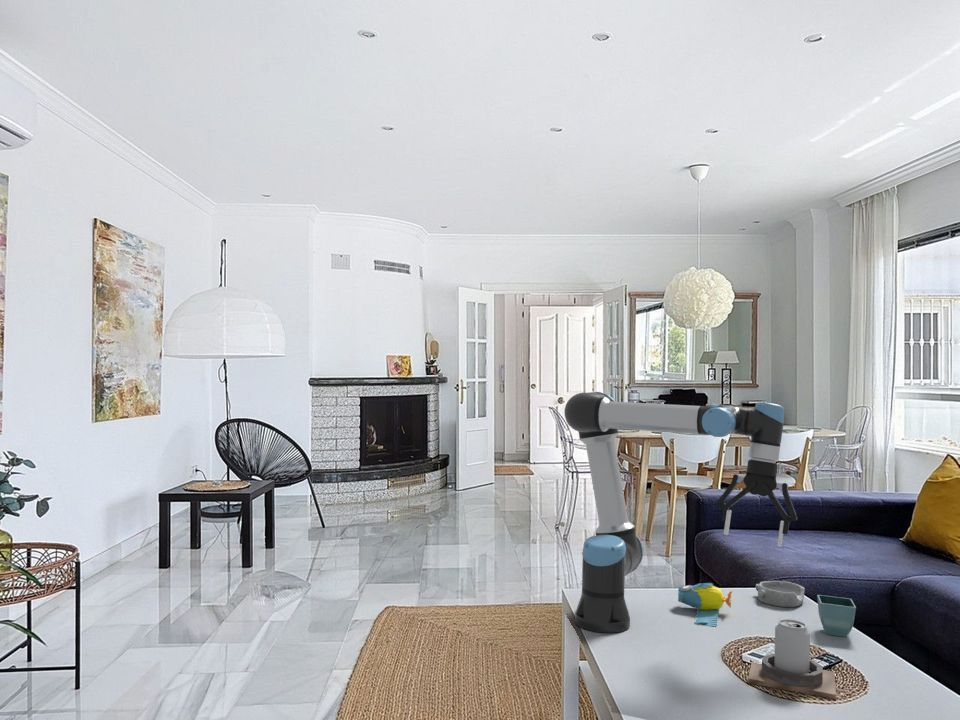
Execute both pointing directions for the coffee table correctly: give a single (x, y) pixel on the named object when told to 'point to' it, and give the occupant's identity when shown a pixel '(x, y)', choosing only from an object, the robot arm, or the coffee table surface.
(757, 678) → the can holder
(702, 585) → the blue yellow plastic figure
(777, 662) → the can
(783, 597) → the dish
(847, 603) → the flower pot
